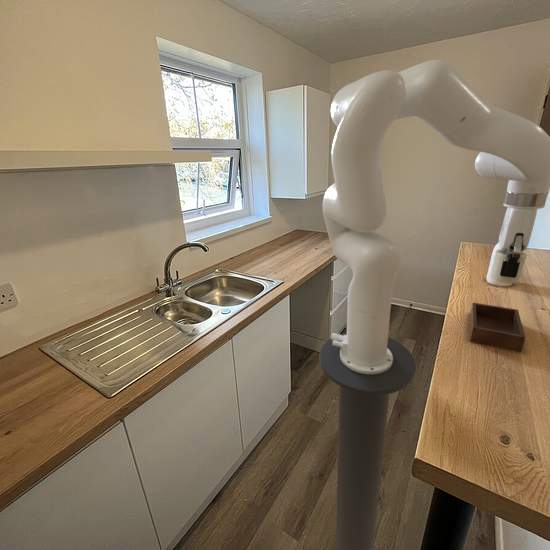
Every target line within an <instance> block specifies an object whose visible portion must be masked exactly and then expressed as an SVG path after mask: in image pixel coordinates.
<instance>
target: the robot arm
mask: <svg viewBox="0 0 550 550" xmlns="http://www.w3.org/2000/svg"><path fill="white" fill-rule="evenodd" d="M330 116H331V120H332V122H333V124H334V125H335V126H336V127H337V129H336V131H335V133H334V134H335V135H334V137H333V141H332V147H331V164H332V165H331V166H332V167H331V168H332V172H333V178H334V179H333V180H334V183H332V184H331V185H330V186H329V187H327V188H328V189H326V191H325V193H324V196H323V199H322V213H323V214H322V215H323V219H324V223H325V226H326V227H325V228H326V231H327V235H328V239H329V243H330V246H331V250H332V253H333V254H334V256H335V258H336V259H337V260H338V261H339V262H340V263H342V265H345V266H346V267H347V268H348V269H350V270H351V271H352V278H351V281H350V282H349V285H348V289H347V299H346V300H347V309H346V313H347V314H346V332H347V335H344V336H342V335H339V334H340V333H336V332H332V333H331V335H330V338H331V340H333V342H332V345H333V346H338V347H341V349H340V359H341V361H342V362H343V364H344V365H345V366H347V367H348V368H349V369H351V370H353V371H355V372H358V373H362V374H379V373H383V372H385V371H387V370H388V369H389V368H390V367H391V366H392V363H393V355H392V353H391V352H390V350H389V349H388V348H387V342H388V337H389V331H390V320H391V319H390V318H391V309H392V298H393V289H394V284H395V280H396V277H397V273H398V270H399V268H400V263H401V254H400V251H399V248H398V247H397V245H396V244H395V243H394V242H393V241H392V240H391V239H389V238H388V237H386V236H384V235H382V234H379V233H377V232H374V231H376V230H378V229H379V228H380V227H381V226H382V225H383V223H384V221H385V219H386V214H387V204H386V198H385V197H386V196H385V190H384V184H383V178H382V171H381V161H380V151H381V146H382V143H383V140H384V137H385V135H386V134H387V131H388V130H389V128H390V127H391V125H392V124H393V123H394V122H395V121H396V120H399V119H404V118H410V117H417V118H419V119H420V120H422V121H423V122H424V123H425V124H426V125H428V126H429V127H430V128H431V129H432V130H433V131H434V132H436V133H437V134H438V135H439V136H440V137H441V138H442V139H444V140H445V141H446V142H447V143H449V144H450V145H452V146H455V147H459V148H461V149H465V150H470V151H474V152H475V151H476V152H479V153H478V155H477V156H476V157H475V161H474V169H475V172H476V173H477V174H478V176H480V177H482V178H484V179H488V180H497V181H508V183H507V187H506V188H507V189H506V191H505V196H504V200H503V204H502V205H503V207H506V211H505V214H504V218H503V221H502V225H501V229H500V232H499V236H498V242H499V245H500V248H501V249H507V251H506V257H505V260H503V263H502V267H501V272H500V276H504V277H512V278H515V277H516V276H517V272H518V268H519V265H520V259H521V253H522V252H524V251H526V250H527V249H528V247H529V244H530V241H531V238H532V233H533V229H534V225H535V222H536V219H537V213H538V210H539V209H543V208H545V206H546V203H547V200H548V195H549V191H550V135H549V134H548V133H547V132H546V131H545V130H544V129H543V128H542V127H541V126H540V125H538V124H537V123H536V122H534V121H532V120H530V119H527V118H526V117H524V116H520V115H519V114H515V113H513V112H510V111H508V110H506V109H503V108H500V107H497V106H494V105H492V104H491V103H488V102H487V101H486V100H485V98H483V96H481V94H479V93H478V92H477V91H476V89H475V88H474V87H473V86H472V85H471V84H470V83H469V82H468V81H467V80H466V79H465V78H464V77H463V76H462V75H461V74H460V73H459V72H458V70H456V69H455V68H454V67H453V65H451V64H450V63H449V62H447V61H445V60H443V59H439V58H434V59H429V60H426V61H423V62H420V63H418V64H416V65H413V66H410V67H408V68H405V69H403V70H401V71H395V70H391V69H383V70H378V71H376V72H372V73H370V74H368V75H365V76H363V77H361V78H359V79H357V80H355V81H353V82H350V83H348V84H346V85H345V86H343V87H341V88H340V89H339V90H338V91H337V92H336V93H335V95H334V96H333V99H332V102H331V106H330ZM510 251H511V252H512V253H511V254H510Z"/></svg>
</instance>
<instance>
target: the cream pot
mask: <svg viewBox="0 0 550 550" xmlns="http://www.w3.org/2000/svg"><path fill="white" fill-rule="evenodd" d="M506 251H507V249H500V250H497V251H496V256H495V260H494V264H493V268H492V273H491V278H492V279H494V280H496V281H499V282H503V283H512V284H517V283H519V282H520V281H521V277H522V274H523V271H524V266H525V263H526V260H527V255H528V254H527V252H524V251H522V253H521V259H520V265H519V268H518V272H517V276H516V277H515V278H512V277H504V276H500V272H501V267H502V263H503V260H505V257H506ZM511 253H512V252H511V251H510V254H511Z"/></svg>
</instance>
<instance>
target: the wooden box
mask: <svg viewBox="0 0 550 550" xmlns="http://www.w3.org/2000/svg"><path fill="white" fill-rule="evenodd" d="M471 304H472V305H471V308H470V309H471V310H470V313H469V342H470V343H471V342H473V343H476V344H481V345H485V346H490V347H495V348H500V349H503V350H504V349H505V350H509V351H514V352H517V353H522V350H523V347H524V345H525V340H526V334H525V331H524V327H523V323H522V320H521V316H520V313H519V309H516V308H509V307H505V306H504V307H503V306H497V305H490V304H484V303H478V302H472V303H471Z"/></svg>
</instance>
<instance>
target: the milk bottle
mask: <svg viewBox="0 0 550 550" xmlns="http://www.w3.org/2000/svg"><path fill="white" fill-rule="evenodd" d="M500 249H501V248H500V245H499V241H498V242H497V243H496V244H495V246H494V248H493V250H492V253H491V256H490V261H489V266H488V269H487V275H486V282H487V283H489V284H491V285H493V286H497V287H510V286H512V285H513V283H503V282H499V281H496V280H494V279H492V278H491V273H492V268H493V264H494V260H495V256H496V251H497V250H500Z"/></svg>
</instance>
